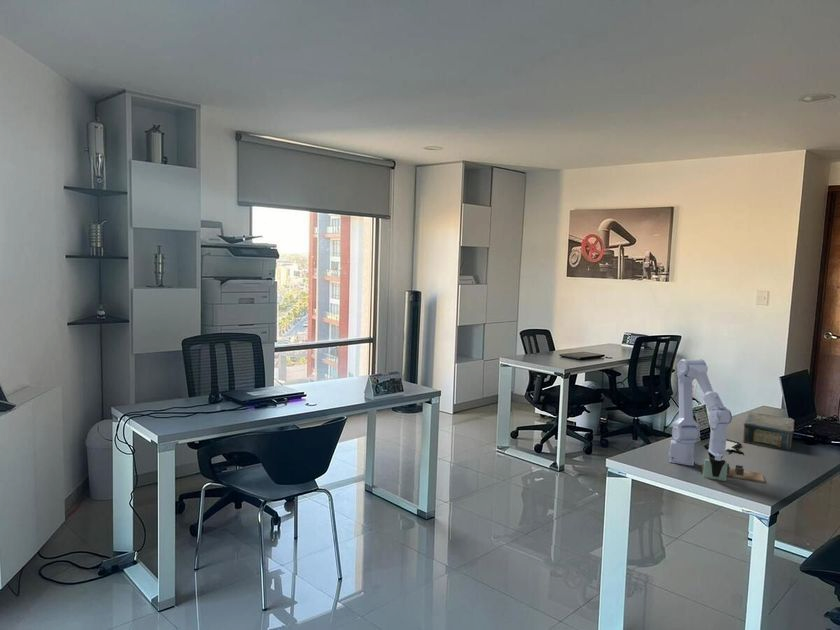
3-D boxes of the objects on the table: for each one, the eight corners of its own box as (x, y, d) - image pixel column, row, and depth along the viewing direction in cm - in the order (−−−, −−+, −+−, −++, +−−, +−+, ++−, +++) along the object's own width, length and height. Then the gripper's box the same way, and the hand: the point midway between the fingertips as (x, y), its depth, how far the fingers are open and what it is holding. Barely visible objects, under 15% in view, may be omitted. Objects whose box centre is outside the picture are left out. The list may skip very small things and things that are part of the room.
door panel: (703, 477, 238) (704, 460, 237) (703, 476, 239) (704, 458, 238) (725, 481, 235) (727, 463, 234) (725, 479, 236) (727, 462, 235)
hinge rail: (702, 472, 243) (703, 464, 243) (701, 465, 252) (702, 457, 252) (764, 483, 235) (765, 474, 234) (761, 475, 244) (762, 467, 243)
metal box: (740, 442, 293) (742, 422, 292) (746, 429, 320) (748, 411, 319) (791, 452, 281) (794, 431, 280) (793, 437, 309) (795, 418, 308)
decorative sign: (753, 450, 283) (719, 440, 294) (753, 446, 283) (720, 437, 293) (737, 459, 267) (702, 449, 278) (738, 455, 267) (703, 445, 277)
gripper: (731, 445, 227) (727, 481, 228) (727, 436, 241) (724, 470, 242) (710, 443, 230) (707, 477, 231) (708, 434, 243) (705, 466, 244)
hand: (714, 473), depth 237 cm, fingers open, 7 cm apart
